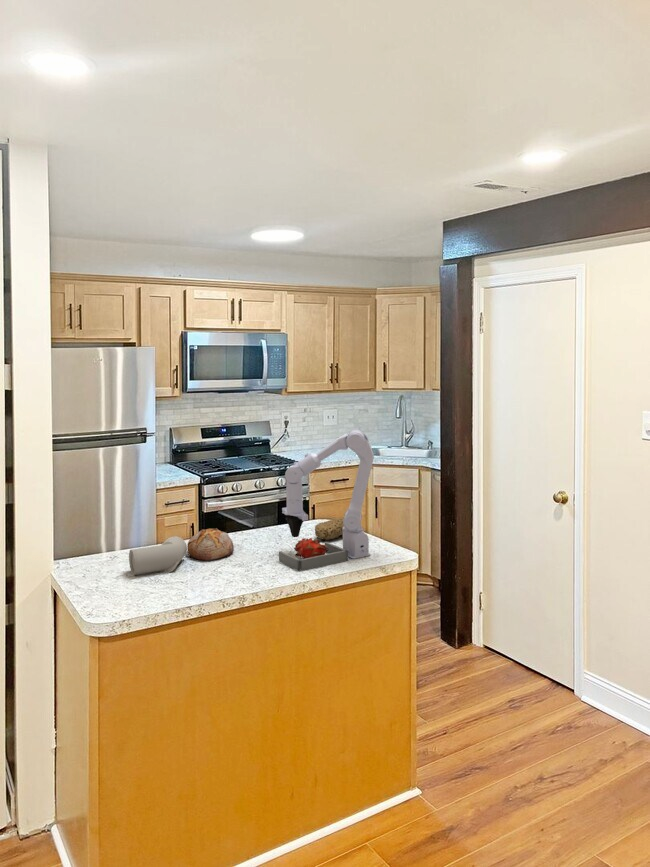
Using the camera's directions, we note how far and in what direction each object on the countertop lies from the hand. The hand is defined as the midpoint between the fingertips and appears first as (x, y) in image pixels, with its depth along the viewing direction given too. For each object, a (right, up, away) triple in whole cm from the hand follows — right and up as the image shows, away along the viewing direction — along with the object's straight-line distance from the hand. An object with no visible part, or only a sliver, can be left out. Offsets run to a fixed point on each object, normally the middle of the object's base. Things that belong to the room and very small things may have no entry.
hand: (295, 536), depth 251 cm
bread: (-30, -7, +1) cm, 31 cm away
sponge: (+15, -4, +22) cm, 27 cm away
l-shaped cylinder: (-46, -9, -16) cm, 49 cm away
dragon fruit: (+6, -7, -8) cm, 12 cm away
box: (+7, -7, -9) cm, 13 cm away
